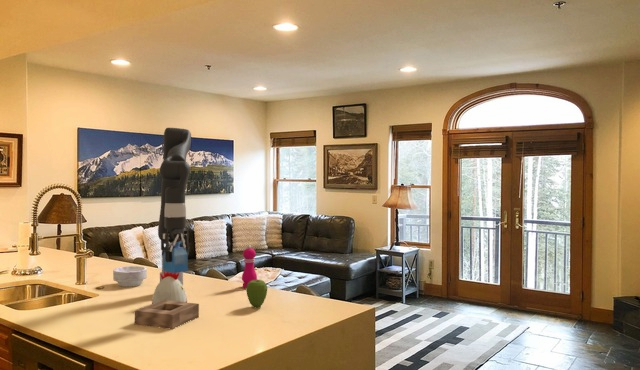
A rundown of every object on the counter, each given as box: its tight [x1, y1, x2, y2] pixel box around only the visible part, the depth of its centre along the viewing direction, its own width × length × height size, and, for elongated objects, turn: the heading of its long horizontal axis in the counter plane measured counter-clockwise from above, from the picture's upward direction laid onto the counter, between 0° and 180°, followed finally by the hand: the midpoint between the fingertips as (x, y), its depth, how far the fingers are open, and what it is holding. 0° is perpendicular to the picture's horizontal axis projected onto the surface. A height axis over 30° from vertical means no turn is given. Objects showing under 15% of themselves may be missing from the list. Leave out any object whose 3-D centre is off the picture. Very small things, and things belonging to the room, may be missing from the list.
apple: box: [245, 279, 268, 309], centre depth 202 cm, size 9×8×12 cm
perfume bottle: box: [163, 238, 189, 273], centre depth 183 cm, size 6×6×12 cm
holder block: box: [134, 300, 200, 330], centre depth 183 cm, size 16×16×5 cm
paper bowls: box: [112, 265, 148, 288], centre depth 242 cm, size 15×15×8 cm
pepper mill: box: [241, 244, 258, 289], centre depth 238 cm, size 7×7×20 cm
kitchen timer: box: [151, 272, 188, 304], centre depth 205 cm, size 14×14×15 cm
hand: (175, 260), depth 183 cm, fingers closed on perfume bottle, 7 cm apart
